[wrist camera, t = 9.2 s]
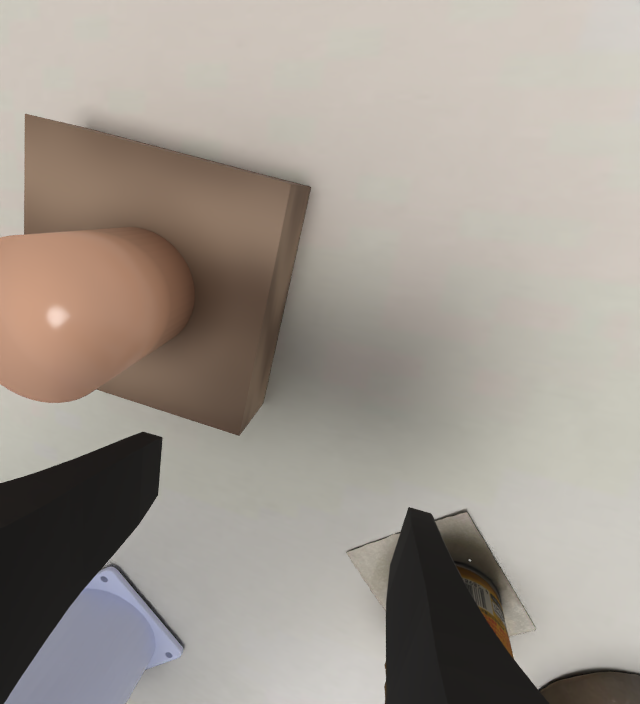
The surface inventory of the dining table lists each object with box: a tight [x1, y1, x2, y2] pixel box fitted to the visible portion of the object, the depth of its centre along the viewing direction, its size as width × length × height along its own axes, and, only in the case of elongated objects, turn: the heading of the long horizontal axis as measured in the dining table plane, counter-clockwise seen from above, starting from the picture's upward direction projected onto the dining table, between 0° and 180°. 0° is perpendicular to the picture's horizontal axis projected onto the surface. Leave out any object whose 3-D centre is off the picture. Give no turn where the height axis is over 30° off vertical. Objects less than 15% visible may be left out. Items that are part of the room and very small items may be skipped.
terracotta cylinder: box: [0, 227, 195, 403], centre depth 16 cm, size 5×5×6 cm
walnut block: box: [24, 114, 311, 436], centre depth 21 cm, size 11×11×4 cm
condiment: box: [346, 512, 536, 704], centre depth 20 cm, size 7×8×12 cm
